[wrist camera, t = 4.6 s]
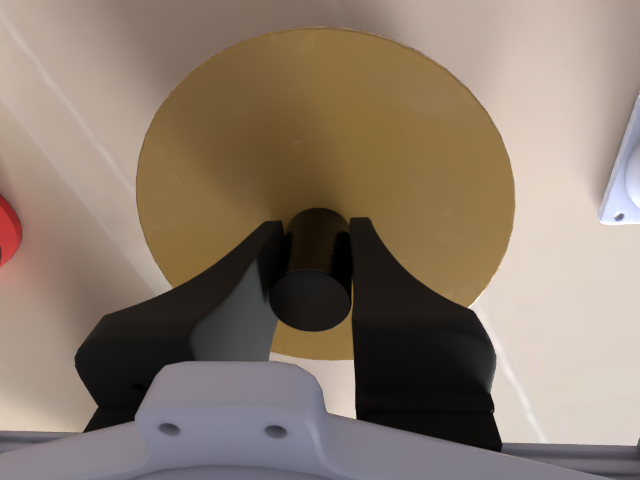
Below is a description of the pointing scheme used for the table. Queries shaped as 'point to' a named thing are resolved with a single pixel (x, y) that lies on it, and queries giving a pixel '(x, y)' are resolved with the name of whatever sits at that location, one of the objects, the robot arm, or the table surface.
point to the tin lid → (326, 173)
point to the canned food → (8, 231)
